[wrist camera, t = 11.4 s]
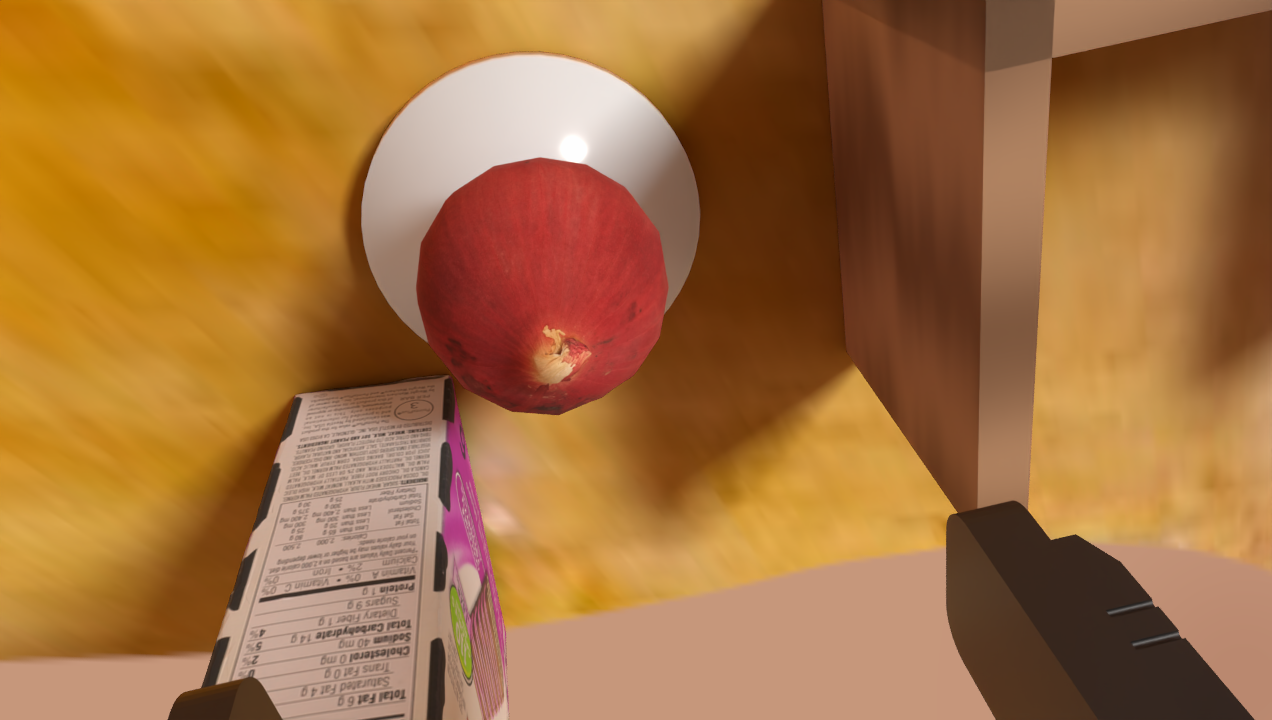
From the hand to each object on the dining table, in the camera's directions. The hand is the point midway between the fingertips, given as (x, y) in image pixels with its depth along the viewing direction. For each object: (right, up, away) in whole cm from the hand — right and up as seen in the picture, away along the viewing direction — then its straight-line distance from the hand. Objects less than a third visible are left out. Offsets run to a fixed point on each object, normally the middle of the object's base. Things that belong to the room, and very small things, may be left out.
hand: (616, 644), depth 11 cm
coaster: (-3, +7, +15) cm, 17 cm away
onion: (-3, +7, +14) cm, 16 cm away
